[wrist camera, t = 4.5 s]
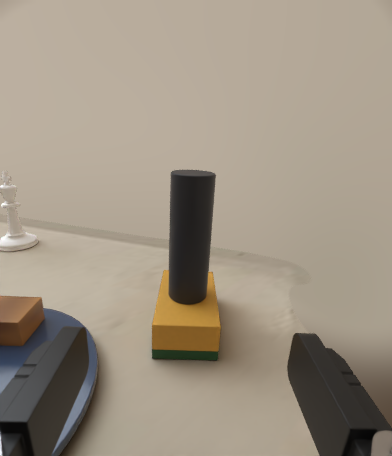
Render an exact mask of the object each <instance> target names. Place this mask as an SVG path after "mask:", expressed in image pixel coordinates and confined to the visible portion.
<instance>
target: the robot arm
mask: <svg viewBox="0 0 392 456" xmlns="http://www.w3.org/2000/svg"><path fill="white" fill-rule="evenodd" d="M88 368H89V351H88V341H87V332H86V328H85V327H69V326H64V327H63V328H62V329H61V330H60V331H59V333H58V334H57V336H56V337H55V339H54V340H53V341H45V342H44V343H42V344H41V345H40V346H39V347H37V348H36V349H35V350H33V351H32V352H31V354H30V355H29V356H28V358H27V359H26V360H25V362H24V363H23V366H22V367H20V369H19V370H18V371H17V373H16V374H15V377H14V378H12V379H11V381H10V382H9V383H8V385H7V386H6V387H5V389H4V390H3V391H2V393H1V394H0V456H51V455H52V453H53V451H54V449H55V446H56V444H57V442H58V439H59V437H60V435H61V433H62V430H63V428H64V426H65V423H66V421H67V419H68V417H69V414H70V412H71V410H72V408H73V405H74V403H75V401H76V398H77V396H78V394H79V392H80V389H81V387H82V385H83V383H84V380H85V378H86V375H87V372H88ZM287 369H288V377H289V381H290V384H291V386H292V389H293V391H294V393H295V396H296V398H297V401H298V403H299V406H300V408H301V411H302V413H303V416H304V418H305V421H306V423H307V426H308V428H309V431H310V433H311V435H312V438H313V440H314V443H315V445H316V448H317V450H318V453H319V455H320V456H392V428H391V426H390V425H389V424H388V422H387V421H386V419H385V418H384V416H383V415H382V413H381V412H380V411H379V409H378V408H377V406H376V405H375V403H374V402H373V400H372V399H371V398H370V396H369V395H368V393H367V392H366V390H365V389H364V387H363V386H361V383H360V382H359V380H358V379H357V377H356V376H355V375H353V372H352V370H351V369H350V367H349V366H348V364H347V363H346V361H345V360H344V359H343V358H342V357H341V356H339V355H338V354H337V353H336V352H335V351H334V350H332V349H329V348H325V346H324V345H323V343H322V342H321V340H320V339H319V337H318V336H317V335H316V334H307V333H295V334H294V336H293V340H292V345H291V350H290V355H289V359H288V366H287Z"/></svg>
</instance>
